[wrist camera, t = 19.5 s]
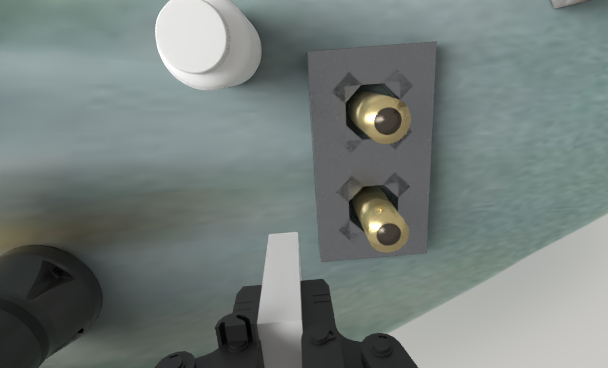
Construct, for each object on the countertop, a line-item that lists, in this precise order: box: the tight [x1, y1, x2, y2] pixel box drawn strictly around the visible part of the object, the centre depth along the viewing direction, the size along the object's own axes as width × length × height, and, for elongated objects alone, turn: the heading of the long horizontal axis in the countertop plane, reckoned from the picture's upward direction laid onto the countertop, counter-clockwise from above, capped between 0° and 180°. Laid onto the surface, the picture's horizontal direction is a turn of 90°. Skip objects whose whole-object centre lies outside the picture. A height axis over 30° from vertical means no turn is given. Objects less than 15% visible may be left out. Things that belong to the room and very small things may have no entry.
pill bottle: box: [155, 0, 262, 90], centre depth 32 cm, size 8×8×15 cm
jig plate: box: [306, 42, 437, 262], centre depth 42 cm, size 14×26×3 cm, turn 4°
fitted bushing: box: [352, 186, 409, 253], centre depth 41 cm, size 4×4×10 cm
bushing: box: [348, 91, 411, 144], centre depth 37 cm, size 4×4×10 cm
